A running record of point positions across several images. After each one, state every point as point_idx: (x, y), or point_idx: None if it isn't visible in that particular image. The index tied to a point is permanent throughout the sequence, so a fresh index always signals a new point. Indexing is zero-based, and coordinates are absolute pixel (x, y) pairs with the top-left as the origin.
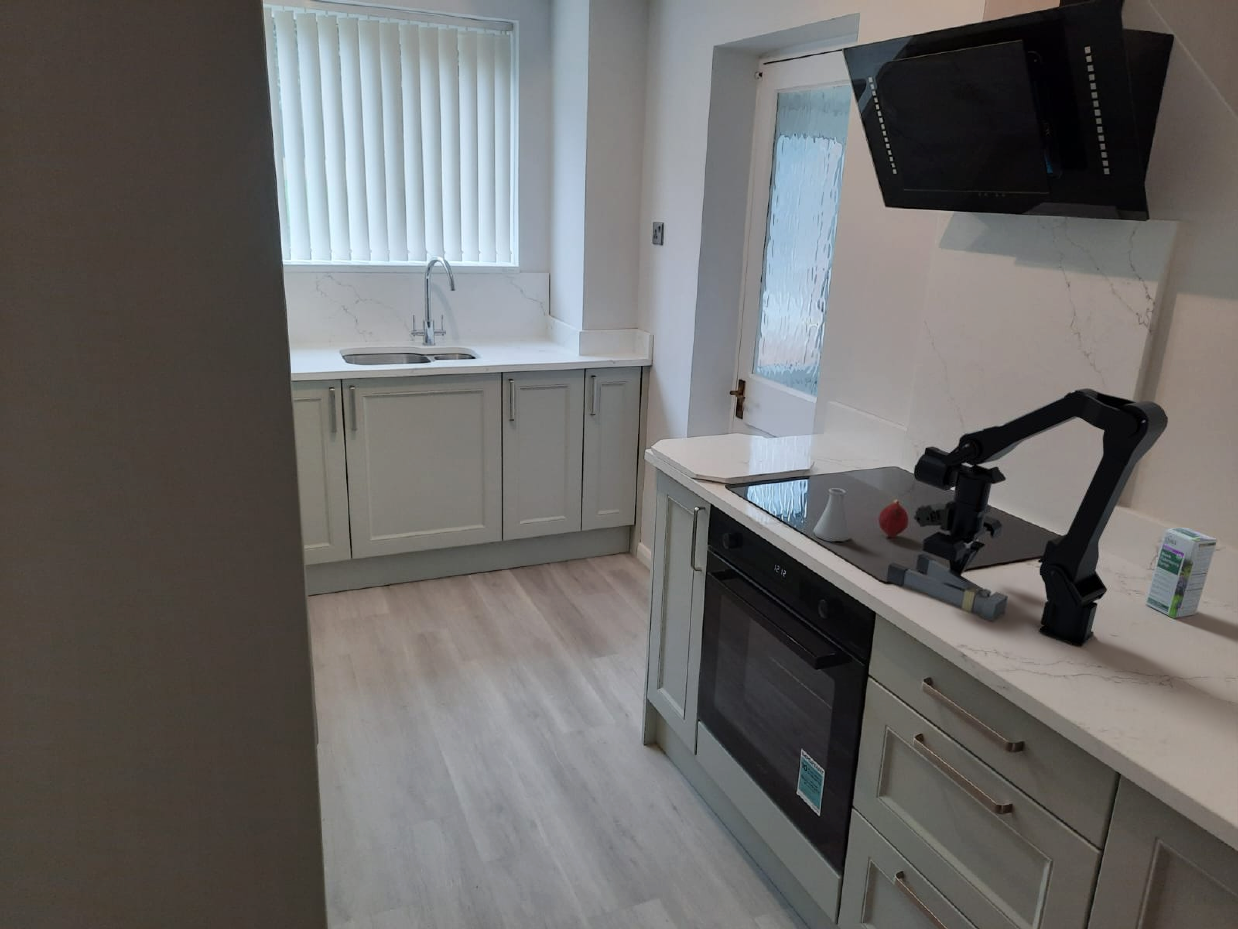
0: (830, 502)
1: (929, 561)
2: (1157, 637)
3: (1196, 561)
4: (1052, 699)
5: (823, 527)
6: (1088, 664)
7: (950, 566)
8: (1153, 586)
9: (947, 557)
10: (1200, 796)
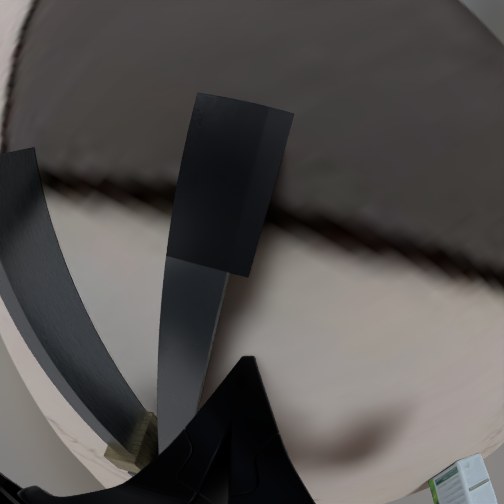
0: None
1: (166, 257)
2: (356, 501)
3: None
4: (97, 474)
5: None
6: None
7: (204, 406)
8: (460, 487)
9: (11, 488)
10: None
